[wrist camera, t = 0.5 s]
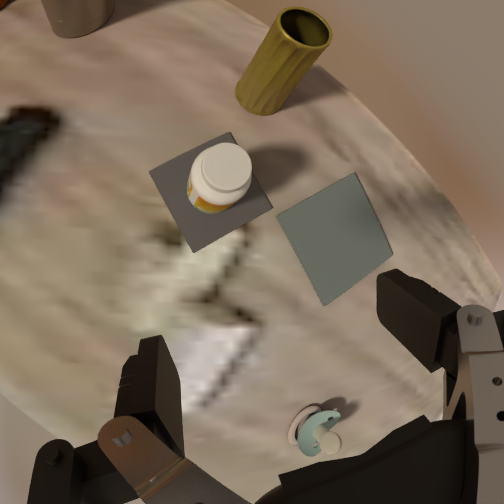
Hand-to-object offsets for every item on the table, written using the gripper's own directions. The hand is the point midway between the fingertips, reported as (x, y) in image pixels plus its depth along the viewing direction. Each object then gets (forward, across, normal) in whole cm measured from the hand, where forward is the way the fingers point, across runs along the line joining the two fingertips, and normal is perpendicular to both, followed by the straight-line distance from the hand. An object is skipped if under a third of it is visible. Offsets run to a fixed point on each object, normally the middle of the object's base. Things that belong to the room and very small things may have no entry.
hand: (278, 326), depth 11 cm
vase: (+30, -8, -11) cm, 33 cm away
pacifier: (+16, -5, +29) cm, 34 cm away
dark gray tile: (+25, 0, -1) cm, 25 cm away
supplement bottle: (+25, 0, -1) cm, 25 cm away
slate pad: (+24, -14, +7) cm, 29 cm away
